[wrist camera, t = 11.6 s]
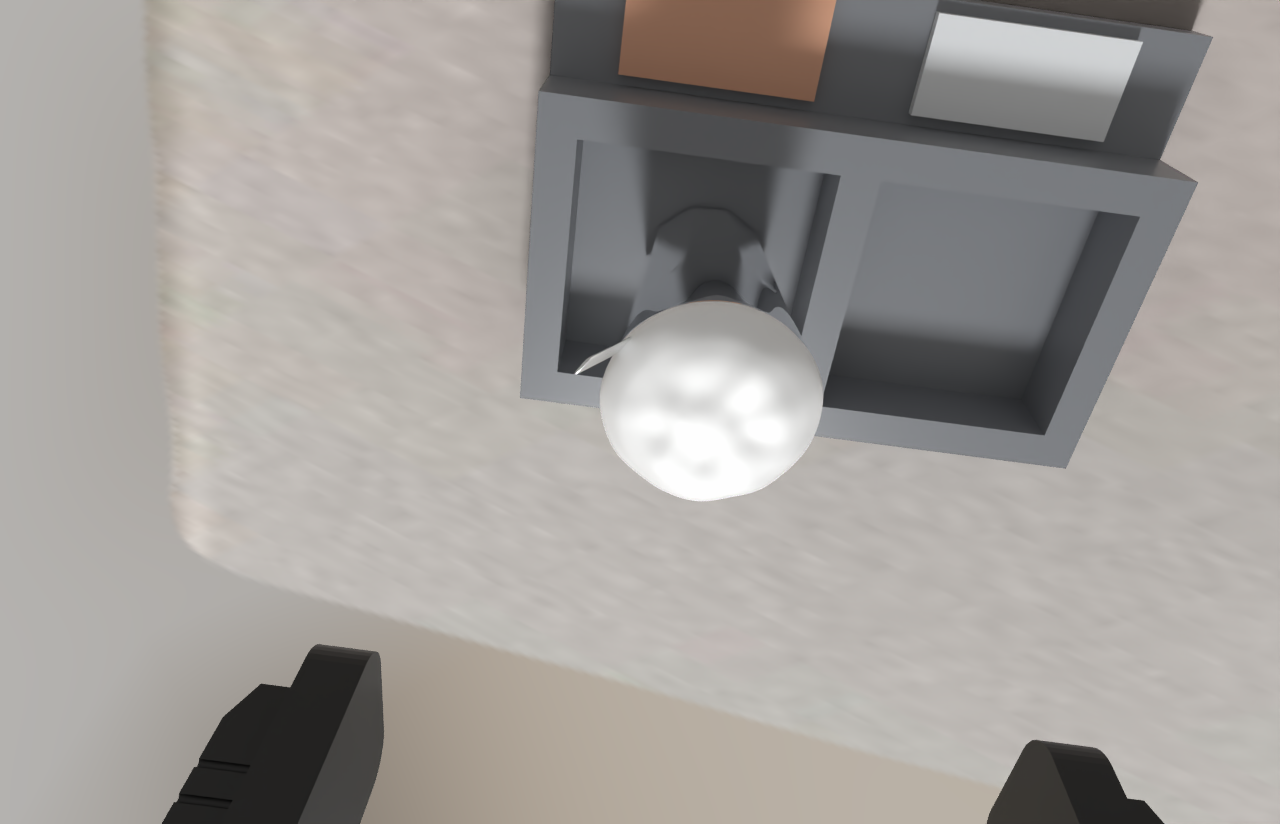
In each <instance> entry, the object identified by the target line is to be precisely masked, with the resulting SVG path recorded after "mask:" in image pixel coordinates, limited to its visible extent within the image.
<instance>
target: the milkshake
mask: <svg viewBox="0 0 1280 824" xmlns="http://www.w3.org/2000/svg"><path fill="white" fill-rule="evenodd" d="M610 357H611V358H610ZM608 358H610V361H609V363H608V366H607V368H606V371H605V373H604V376H603V380H602V384H601V390H600V410H601V417H602V422H603V425H604V429H605V432H606V434H607V437H608V439H609V441H610V443H611V445H612V447H613V449H614V450H615V452H616V453H617V455H618V456H619V457H620V458H621V459H622V460H623V461H624V462H625V463H626V464H627V465H628V466H629V467H630V468H631V469H633V470H634V471H635V472H636V473H637V474H639V475H640V476H641V477H643V478H644V479H645V480H647V481H648V482H649V483H651V484H652V485H654V486H655V487H657V488H659V489H661V490H663V491H665V492H667V493H669V494H671V495H674V496H677V497H680V498H683V499H687V500H692V501H713V500H719V499H724V498H729V497H734V496H740V495H745V494H749V493H752V492H755V491H758V490H760V489H762V488H764V487H766V486H767V485H769V484H770V483H772V482H773V481H775V480H776V479H777V478H779V477H780V476H781V475H782V474H784V473H785V472H786V471H787V470H788V469H789V468H790V467H792V466H793V465H794V464H795V463H796V462H797V461H798V460H799V458H800V457H801V456H802V455H803V454H804V452H805V451H806V450H807V448H808V446H809V445H810V443H811V441H812V439H813V437H814V435H815V433H816V430H817V428H818V424H819V421H820V417H821V412H822V406H823V385H822V379H821V375H820V372H819V369H818V367H817V365H816V362H815V360H814V358H813V357H812V355H811V353H810V352H809V350H808V348H807V346H806V344H805V342H804V340H803V338H802V336H801V334H800V332H799V330H798V328H797V326H796V324H795V322H794V320H793V318H792V316H791V314H790V312H789V310H788V308H787V306H786V304H785V302H784V300H783V297H782V295H781V292H780V290H779V288H778V285H777V283H776V280H775V278H774V276H773V273H772V271H771V268H770V266H769V264H768V261H767V259H766V257H765V254H764V252H763V249H762V247H761V245H760V242H759V240H758V238H757V235H756V233H755V232H753V231H752V230H751V229H750V228H749V227H747V226H746V225H745V224H744V223H743V222H742V221H740V220H739V219H738V218H737V217H736V216H734V215H733V214H732V213H731V212H730V211H729V210H723V209H708V208H695V207H690V208H689V209H687V210H686V211H684V212H682V213H681V214H679V215H677V216H676V217H674V218H672V219H671V220H669V221H667V222H666V223H664V224H662V225H660V226H659V228H658V231H657V233H656V235H655V238H654V240H653V243H652V245H651V247H650V250H649V252H648V254H647V257H646V259H645V262H644V265H643V269H642V272H641V275H640V278H639V282H638V285H637V288H636V292H635V295H634V298H633V301H632V305H631V308H630V311H629V314H628V316H627V318H626V320H625V322H624V325H623V327H622V330H621V332H620V335H619V337H618V340H617V343H616V344H614V345H612V346H610V347H608V348H606V349H604V350H602V351H600V352H598V353H596V354H594V355H592V356H590V357H589V358H587V359H586V360H585V361H584V362H583V363H582V365H581V366H580V367H579V368H578V369H577V370H576V371H575V375H577V374H579V373H581V372H583V371H585V370H587V369H589V368H590V367H592V366H594V365H596V364H598V363H600V362H602V361H604V360H606V359H608Z"/></svg>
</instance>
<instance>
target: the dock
mask: <svg viewBox="0 0 1280 824" xmlns="http://www.w3.org/2000/svg"><path fill="white" fill-rule="evenodd" d="M1212 38H1213V37H1211V36H1208V35H1205V34H1201V33H1198V32H1195V31H1189V30H1182V29H1175V28H1168V27H1161V26H1154V25H1148V24H1141V23H1134V22H1127V21H1120V20H1113V19H1106V18H1099V17H1092V16H1085V15H1078V14H1071V13H1064V12H1057V11H1050V10H1043V9H1036V8H1029V7H1022V6H1015V5H1008V4H1001V3H994V2H987V1H980V0H555V6H554V21H553V36H552V51H551V66H550V76H549V77H548V78H547V80H546V81H545V83H544V84H543V86H542V87H541V88H540V90H539V95H538V111H537V128H536V144H535V161H534V177H533V193H532V210H531V226H530V243H529V259H528V276H527V292H526V309H525V325H524V341H523V358H522V374H521V391H520V398H525V399H533V400H541V401H548V402H556V403H564V404H571V405H579V406H587V407H595V408H600V390H601V384H602V380H603V376H604V373H605V371H606V368H607V366H608V363H609V361H610V358H611V357H610V358H608V359H606V360H604V361H602V362H600V363H598V364H596V365H594V366H592V367H590V368H589V369H587V370H585V371H583V372H581V373H579V374H577V375H575V371H576V370H577V369H578V368H579V367H580V366H581V365H582V363H583V362H584V361H585V360H586V359H587V358H589V357H590V356H592V355H594V354H596V353H598V352H600V351H602V350H604V349H606V348H608V347H610V346H612V345H614V344H616V343H617V340H618V337H619V335H620V332H621V330H622V327H623V325H624V322H625V320H626V318H627V316H628V314H629V311H630V308H631V305H632V301H633V298H634V295H635V292H636V288H637V285H638V282H639V278H640V275H641V272H642V269H643V265H644V262H645V259H646V257H647V254H648V252H649V250H650V247H651V245H652V243H653V240H654V238H655V235H656V233H657V231H658V228H659V226H660V225H662V224H664V223H666V222H667V221H669V220H671V219H672V218H674V217H676V216H677V215H679V214H681V213H682V212H684V211H686V210H687V209H689V208H690V207H695V208H708V209H723V210H729V211H730V212H731V213H732V214H733V215H734V216H736V217H737V218H738V219H739V220H740V221H742V222H743V223H744V224H745V225H746V226H747V227H749V228H750V229H751V230H752V231H753V232H755V233H756V235H757V238H758V240H759V242H760V245H761V247H762V249H763V252H764V254H765V257H766V259H767V261H768V264H769V266H770V268H771V271H772V273H773V276H774V278H775V280H776V283H777V285H778V288H779V290H780V292H781V295H782V297H783V300H784V302H785V304H786V306H787V308H788V310H789V312H790V314H791V316H792V318H793V320H794V322H795V324H796V326H797V328H798V330H799V332H800V334H801V336H802V338H803V340H804V342H805V344H806V346H807V348H808V350H809V352H810V353H811V355H812V357H813V358H814V360H815V362H816V365H817V367H818V369H819V372H820V375H821V379H822V385H823V406H822V412H821V417H820V421H819V424H818V428H817V430H816V433H815V435H814V436H819V437H826V438H834V439H842V440H850V441H857V442H865V443H873V444H881V445H888V446H896V447H904V448H911V449H919V450H927V451H935V452H942V453H950V454H958V455H966V456H973V457H981V458H989V459H996V460H1004V461H1012V462H1020V463H1027V464H1035V465H1043V466H1050V467H1058V468H1066V467H1067V465H1068V462H1069V460H1070V458H1071V456H1072V454H1073V452H1074V449H1075V447H1076V445H1077V443H1078V441H1079V439H1080V436H1081V434H1082V432H1083V430H1084V428H1085V426H1086V424H1087V421H1088V419H1089V417H1090V415H1091V413H1092V411H1093V408H1094V406H1095V404H1096V402H1097V400H1098V398H1099V395H1100V393H1101V391H1102V389H1103V387H1104V385H1105V383H1106V380H1107V378H1108V376H1109V374H1110V372H1111V370H1112V367H1113V365H1114V363H1115V361H1116V359H1117V357H1118V354H1119V352H1120V350H1121V348H1122V346H1123V344H1124V341H1125V339H1126V337H1127V335H1128V333H1129V331H1130V329H1131V326H1132V324H1133V322H1134V320H1135V318H1136V316H1137V313H1138V311H1139V309H1140V307H1141V305H1142V303H1143V300H1144V298H1145V296H1146V294H1147V292H1148V290H1149V287H1150V285H1151V283H1152V281H1153V279H1154V277H1155V275H1156V272H1157V270H1158V268H1159V266H1160V264H1161V262H1162V259H1163V257H1164V255H1165V253H1166V251H1167V249H1168V246H1169V244H1170V242H1171V240H1172V238H1173V236H1174V234H1175V231H1176V229H1177V227H1178V225H1179V223H1180V221H1181V218H1182V216H1183V214H1184V212H1185V210H1186V208H1187V205H1188V203H1189V201H1190V199H1191V197H1192V195H1193V192H1194V190H1195V188H1196V186H1197V184H1198V182H1196V181H1195V180H1193V179H1191V178H1190V177H1188V176H1186V175H1185V174H1183V173H1181V172H1179V171H1178V170H1176V169H1174V168H1173V167H1171V166H1169V165H1168V164H1166V163H1164V162H1163V161H1161V160H1160V158H1161V156H1162V154H1163V151H1164V149H1165V147H1166V144H1167V142H1168V140H1169V138H1170V135H1171V133H1172V131H1173V128H1174V126H1175V124H1176V121H1177V119H1178V117H1179V115H1180V112H1181V110H1182V108H1183V105H1184V103H1185V101H1186V98H1187V96H1188V94H1189V91H1190V89H1191V87H1192V85H1193V82H1194V80H1195V78H1196V75H1197V73H1198V71H1199V68H1200V66H1201V64H1202V62H1203V59H1204V57H1205V55H1206V52H1207V50H1208V48H1209V45H1210V43H1211V41H1212Z"/></svg>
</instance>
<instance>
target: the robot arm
mask: <svg viewBox="0 0 1280 824" xmlns="http://www.w3.org/2000/svg"><path fill="white" fill-rule="evenodd" d="M383 739H384V724H383V701H382V679H381V661H380V656H379V653H378V652H374V651H367V650H359V649H352V648H344V647H336V646H328V645H321V644H317V645H315V646H314V647H313V648H312V649H311V650H310V651H309V653H308V655H307V656H306V658H305V660H304V662H303V664H302V666H301V668H300V670H299V672H298V674H297V676H296V678H295V680H294V682H293V684H292V685H291V687H290V688H289V687H282V686H274V685H266V684H260V685H259V686H258V687H257V688H256V689H255V690H253V691H252V692H251V693H250V694H249V695H248V696H247V697H246V698H244V699H243V700H242V701H241V702H240V703H239V704H237V705H236V706H235V707H234V708H233V709H232V710H231V711H230V712H228V713H227V714H226V715H225V716H224V717H223V718H222V720H221V722H220V723H219V725H218V727H217V729H216V731H215V732H214V734H213V735H212V737H211V739H210V741H209V742H208V744H207V746H206V748H205V750H204V751H203V753H202V755H201V756H200V758H199V764H198V766H197V767H194V768H193V770H192V772H191V774H190V775H189V777H188V779H187V781H186V783H185V784H184V786H183V788H182V789H181V791H180V793H179V799H178V801H177V802H174V803H173V805H172V807H171V808H170V810H169V812H168V814H167V815H166V817H165V819H164V821H163V822H162V824H360V822H361V819H362V817H363V814H364V811H365V808H366V805H367V803H368V800H369V797H370V794H371V792H372V789H373V786H374V783H375V780H376V776H377V773H378V769H379V765H380V759H381V754H382V748H383ZM987 824H1164V823H1163V822H1162V821H1161V819H1160V818H1159V817H1158V816H1157V815H1156V814H1155V813H1154V812H1153V810H1152V809H1151V808H1150V807H1149V806H1148V805H1147V804H1146V802H1145V801H1142V800H1134V799H1127V797H1126V795H1125V793H1124V791H1123V789H1122V786H1121V784H1120V782H1119V780H1118V778H1117V776H1116V774H1115V772H1114V769H1113V767H1112V765H1111V763H1110V762H1109V760H1108V758H1107V757H1106V756H1105V754H1104V753H1103V752H1101V751H1100V750H1098V749H1097V748H1093V747H1086V746H1078V745H1070V744H1063V743H1055V742H1047V741H1040V740H1032V741H1031V742H1029V743H1028V744H1027V745H1026V746H1025V748H1024V749H1023V751H1022V753H1021V755H1020V757H1019V759H1018V760H1017V762H1016V764H1015V766H1014V768H1013V770H1012V772H1011V774H1010V776H1009V777H1008V779H1007V781H1006V783H1005V785H1004V787H1003V789H1002V791H1001V793H1000V794H999V796H998V798H997V800H996V802H995V804H994V806H993V807H992V809H991V811H990V814H989V817H988V820H987Z"/></svg>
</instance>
